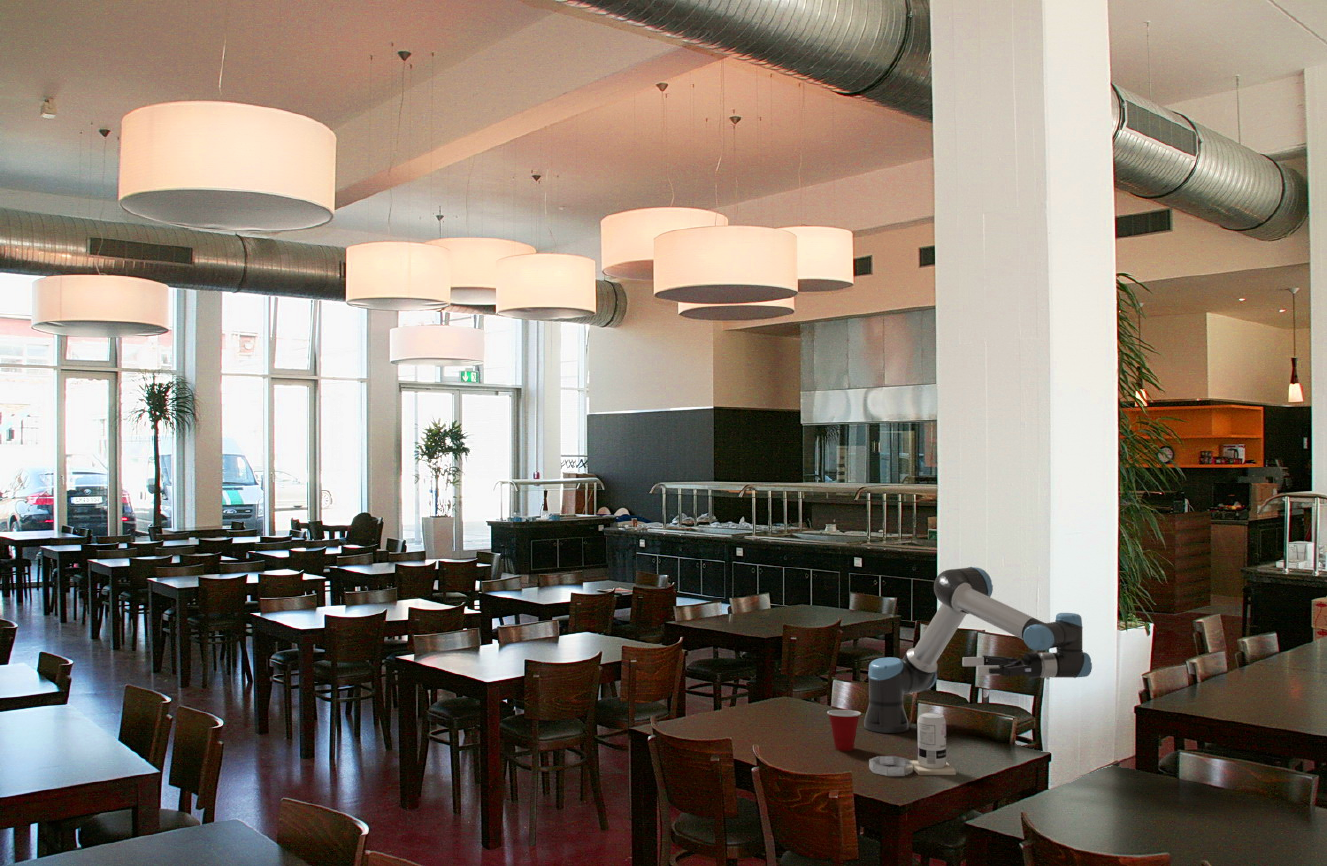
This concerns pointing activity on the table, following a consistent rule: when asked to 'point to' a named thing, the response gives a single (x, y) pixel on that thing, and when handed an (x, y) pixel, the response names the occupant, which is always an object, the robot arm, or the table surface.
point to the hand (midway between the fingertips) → (969, 666)
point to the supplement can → (931, 740)
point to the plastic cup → (844, 728)
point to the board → (927, 771)
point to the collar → (878, 767)
